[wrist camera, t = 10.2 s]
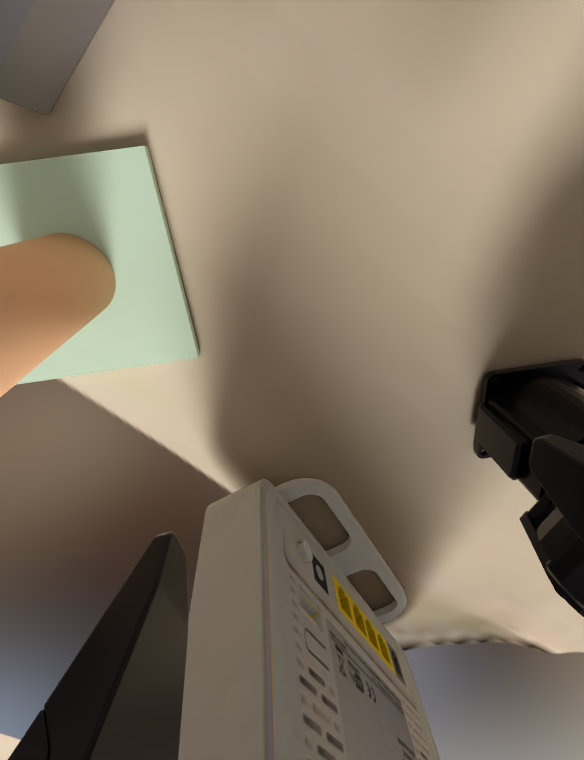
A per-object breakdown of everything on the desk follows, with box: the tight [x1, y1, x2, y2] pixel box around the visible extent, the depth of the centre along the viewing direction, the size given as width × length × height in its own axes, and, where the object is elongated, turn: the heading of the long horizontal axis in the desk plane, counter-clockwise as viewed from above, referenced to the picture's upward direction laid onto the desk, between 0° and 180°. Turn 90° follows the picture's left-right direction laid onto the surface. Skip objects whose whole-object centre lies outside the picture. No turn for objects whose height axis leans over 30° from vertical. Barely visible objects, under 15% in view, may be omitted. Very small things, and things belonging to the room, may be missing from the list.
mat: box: [0, 146, 200, 384], centre depth 18 cm, size 10×10×1 cm
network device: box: [178, 478, 440, 760], centre depth 21 cm, size 26×9×20 cm, turn 29°
